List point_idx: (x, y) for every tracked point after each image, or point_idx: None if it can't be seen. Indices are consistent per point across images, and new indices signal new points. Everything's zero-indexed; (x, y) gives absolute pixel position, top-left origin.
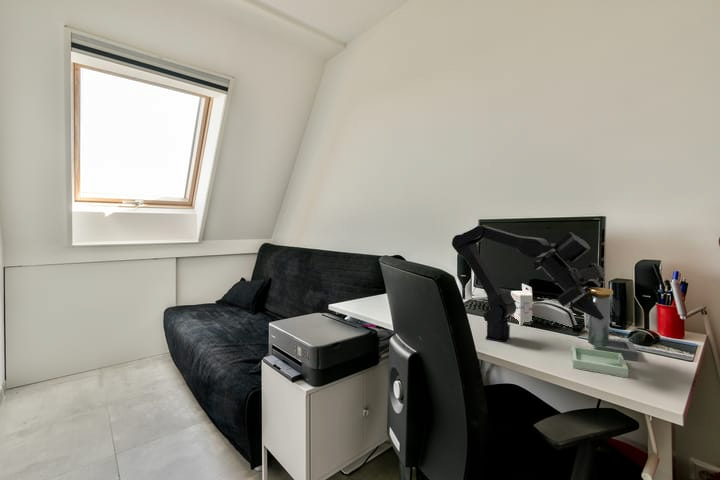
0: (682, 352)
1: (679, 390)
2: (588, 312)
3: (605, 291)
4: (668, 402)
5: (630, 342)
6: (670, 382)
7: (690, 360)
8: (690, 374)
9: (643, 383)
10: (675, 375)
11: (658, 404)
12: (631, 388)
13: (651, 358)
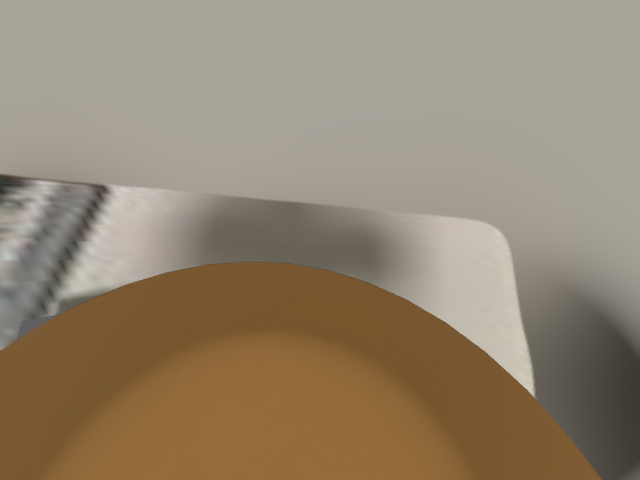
0: (20, 200)
1: (364, 218)
2: None
3: (571, 441)
4: (462, 238)
5: (33, 324)
6: (321, 232)
7: (97, 188)
8: (225, 195)
9: (381, 284)
10: (256, 221)
11: (494, 255)
12: (446, 309)
13: (128, 270)
